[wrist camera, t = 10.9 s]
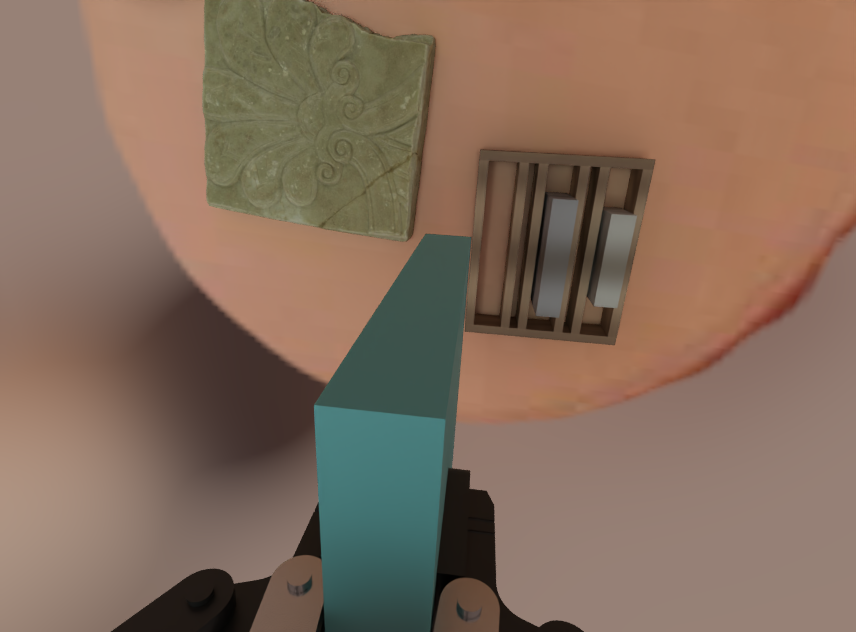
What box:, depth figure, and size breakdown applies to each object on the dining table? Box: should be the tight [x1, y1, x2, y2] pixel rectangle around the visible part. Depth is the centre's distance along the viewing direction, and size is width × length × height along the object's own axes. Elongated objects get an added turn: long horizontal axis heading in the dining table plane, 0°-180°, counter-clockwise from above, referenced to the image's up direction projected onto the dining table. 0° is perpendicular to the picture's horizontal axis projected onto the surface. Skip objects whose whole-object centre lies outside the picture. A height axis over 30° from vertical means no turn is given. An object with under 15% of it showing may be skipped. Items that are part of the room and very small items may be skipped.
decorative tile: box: [203, 0, 436, 241], centre depth 40 cm, size 19×20×4 cm
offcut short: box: [587, 207, 637, 308], centre depth 41 cm, size 8×2×5 cm, turn 177°
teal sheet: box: [314, 234, 471, 632], centre depth 15 cm, size 12×2×14 cm, turn 177°
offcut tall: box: [530, 192, 579, 318], centre depth 40 cm, size 10×2×6 cm, turn 177°
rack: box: [465, 150, 655, 345], centre depth 42 cm, size 17×14×3 cm
